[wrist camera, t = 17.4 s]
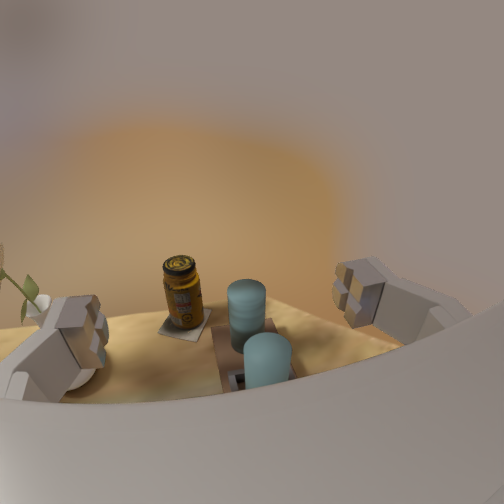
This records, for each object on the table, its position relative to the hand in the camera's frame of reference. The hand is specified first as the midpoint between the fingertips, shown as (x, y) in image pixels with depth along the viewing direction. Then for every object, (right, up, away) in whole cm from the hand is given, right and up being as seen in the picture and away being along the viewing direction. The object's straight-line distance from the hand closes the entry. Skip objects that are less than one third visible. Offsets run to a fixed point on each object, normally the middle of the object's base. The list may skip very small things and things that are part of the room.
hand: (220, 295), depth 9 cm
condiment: (-11, -11, +42) cm, 44 cm away
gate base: (+2, -17, +31) cm, 35 cm away
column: (+3, -17, +25) cm, 31 cm away
